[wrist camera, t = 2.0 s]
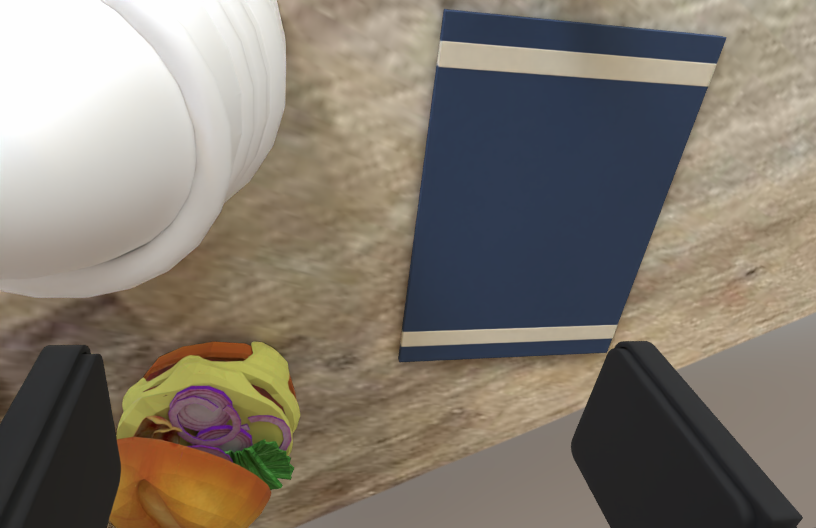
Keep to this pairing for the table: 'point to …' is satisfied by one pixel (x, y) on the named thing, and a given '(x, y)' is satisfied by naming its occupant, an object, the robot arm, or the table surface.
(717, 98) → the table surface
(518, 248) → the dish cloth
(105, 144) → the honey pot
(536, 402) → the table surface
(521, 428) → the table surface
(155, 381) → the cheeseburger
